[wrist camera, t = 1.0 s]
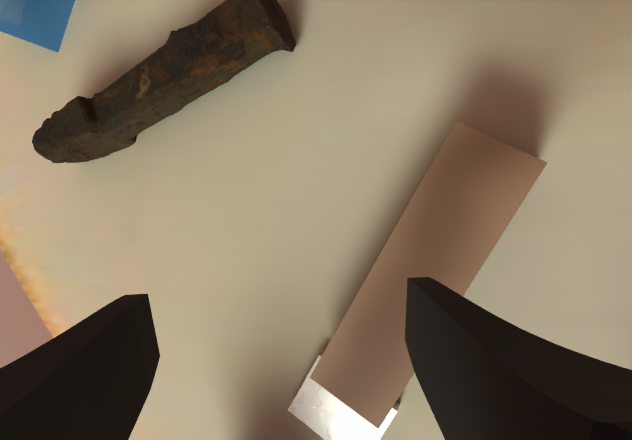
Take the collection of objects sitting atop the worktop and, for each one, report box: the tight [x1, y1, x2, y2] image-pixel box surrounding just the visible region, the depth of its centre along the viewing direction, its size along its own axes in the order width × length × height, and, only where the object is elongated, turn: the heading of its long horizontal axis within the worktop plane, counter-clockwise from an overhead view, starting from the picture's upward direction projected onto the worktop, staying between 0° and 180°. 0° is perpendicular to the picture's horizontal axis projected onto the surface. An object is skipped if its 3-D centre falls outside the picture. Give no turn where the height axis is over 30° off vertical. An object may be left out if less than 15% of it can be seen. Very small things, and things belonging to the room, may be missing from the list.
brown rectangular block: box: [288, 121, 547, 440], centre depth 21 cm, size 5×18×4 cm, turn 151°
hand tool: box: [32, 0, 296, 163], centre depth 25 cm, size 19×4×5 cm, turn 111°
